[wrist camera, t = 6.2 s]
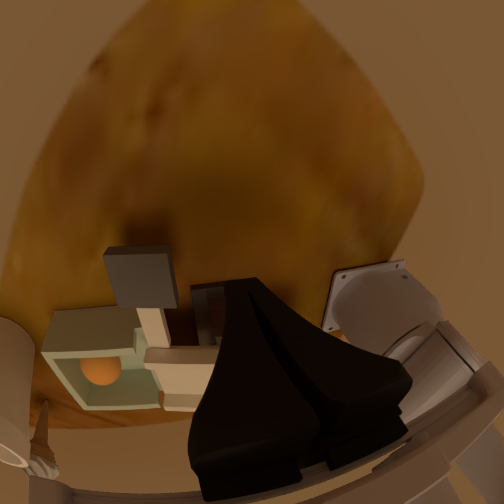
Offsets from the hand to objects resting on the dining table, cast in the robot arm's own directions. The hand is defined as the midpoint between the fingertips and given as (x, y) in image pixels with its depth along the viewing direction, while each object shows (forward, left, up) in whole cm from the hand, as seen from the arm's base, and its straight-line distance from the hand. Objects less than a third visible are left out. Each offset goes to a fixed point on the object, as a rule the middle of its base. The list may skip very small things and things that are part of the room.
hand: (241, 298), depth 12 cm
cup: (+11, +12, -10) cm, 19 cm away
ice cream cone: (+25, +23, -10) cm, 35 cm away
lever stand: (0, +12, -10) cm, 16 cm away
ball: (+11, +12, -7) cm, 18 cm away
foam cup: (+23, +11, -10) cm, 27 cm away
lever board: (0, +8, -7) cm, 11 cm away
